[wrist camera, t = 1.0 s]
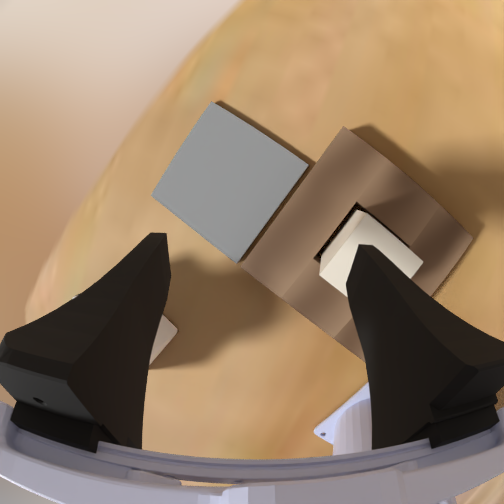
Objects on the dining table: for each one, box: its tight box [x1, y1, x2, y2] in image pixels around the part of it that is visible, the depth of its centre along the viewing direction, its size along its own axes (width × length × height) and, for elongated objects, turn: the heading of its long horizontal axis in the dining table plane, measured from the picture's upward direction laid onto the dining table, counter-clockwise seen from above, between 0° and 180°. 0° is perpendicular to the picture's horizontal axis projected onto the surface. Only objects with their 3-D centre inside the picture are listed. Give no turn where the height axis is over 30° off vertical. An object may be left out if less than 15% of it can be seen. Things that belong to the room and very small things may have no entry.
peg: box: [319, 209, 423, 297], centre depth 19 cm, size 4×4×7 cm
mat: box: [151, 101, 309, 264], centre depth 23 cm, size 9×9×1 cm
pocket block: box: [240, 126, 473, 363], centre depth 21 cm, size 12×12×2 cm
